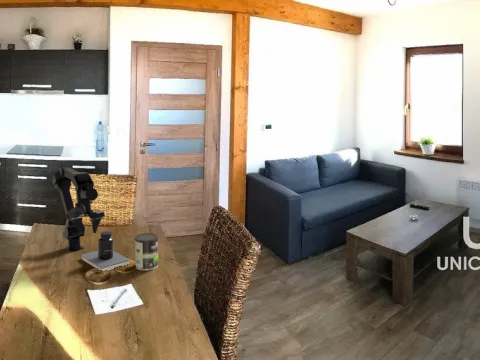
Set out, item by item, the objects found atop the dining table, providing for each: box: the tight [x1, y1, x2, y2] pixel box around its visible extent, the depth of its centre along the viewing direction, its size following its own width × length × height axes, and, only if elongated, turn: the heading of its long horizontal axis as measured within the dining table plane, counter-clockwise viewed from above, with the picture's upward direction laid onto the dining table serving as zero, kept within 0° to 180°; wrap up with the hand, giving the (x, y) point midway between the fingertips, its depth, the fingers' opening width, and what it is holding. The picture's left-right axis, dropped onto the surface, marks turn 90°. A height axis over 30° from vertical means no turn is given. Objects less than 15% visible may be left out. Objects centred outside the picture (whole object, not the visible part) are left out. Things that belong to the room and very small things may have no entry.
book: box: [80, 250, 131, 272], centre depth 195 cm, size 20×14×3 cm
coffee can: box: [134, 233, 159, 271], centre depth 191 cm, size 10×10×14 cm
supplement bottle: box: [97, 230, 115, 260], centre depth 193 cm, size 7×7×12 cm
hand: (87, 233), depth 195 cm, fingers open, 9 cm apart
